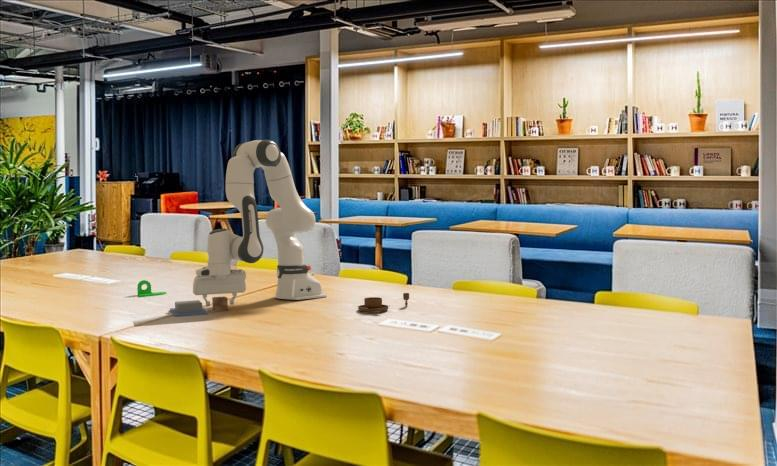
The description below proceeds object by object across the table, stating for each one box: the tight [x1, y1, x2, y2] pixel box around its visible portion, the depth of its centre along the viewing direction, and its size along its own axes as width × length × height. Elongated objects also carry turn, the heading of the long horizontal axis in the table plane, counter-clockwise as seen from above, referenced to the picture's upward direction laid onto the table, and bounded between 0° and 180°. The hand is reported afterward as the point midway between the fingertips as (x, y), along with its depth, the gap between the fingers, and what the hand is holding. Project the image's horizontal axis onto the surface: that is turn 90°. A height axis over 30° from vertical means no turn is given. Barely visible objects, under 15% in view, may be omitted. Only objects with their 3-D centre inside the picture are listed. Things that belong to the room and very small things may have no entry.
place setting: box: [357, 292, 410, 314], centre depth 260 cm, size 18×20×6 cm
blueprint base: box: [169, 299, 209, 317], centre depth 257 cm, size 12×16×4 cm
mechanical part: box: [136, 279, 168, 298], centre depth 299 cm, size 12×6×8 cm, turn 121°
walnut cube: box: [211, 296, 229, 312], centre depth 262 cm, size 5×5×5 cm
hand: (219, 305), depth 262 cm, fingers open, 8 cm apart
